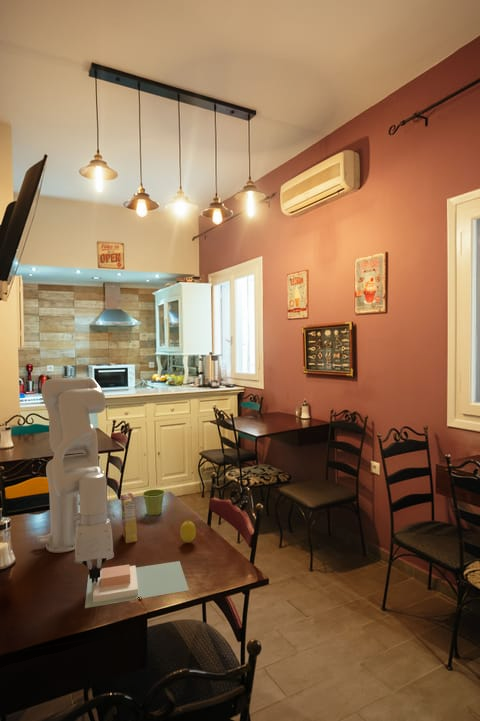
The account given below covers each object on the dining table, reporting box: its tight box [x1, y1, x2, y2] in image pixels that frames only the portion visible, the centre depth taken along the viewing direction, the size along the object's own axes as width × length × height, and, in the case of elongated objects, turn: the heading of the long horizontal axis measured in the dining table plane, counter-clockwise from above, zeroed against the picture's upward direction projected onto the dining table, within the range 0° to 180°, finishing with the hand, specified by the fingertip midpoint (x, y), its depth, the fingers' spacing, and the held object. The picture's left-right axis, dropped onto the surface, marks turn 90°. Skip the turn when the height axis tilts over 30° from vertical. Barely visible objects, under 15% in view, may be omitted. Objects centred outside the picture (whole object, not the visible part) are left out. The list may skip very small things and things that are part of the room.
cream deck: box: [93, 565, 138, 602], centre depth 127 cm, size 12×14×2 cm
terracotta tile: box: [100, 564, 131, 587], centre depth 127 cm, size 8×6×2 cm
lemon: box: [179, 520, 197, 544], centre depth 155 cm, size 6×6×8 cm
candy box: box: [120, 492, 138, 544], centre depth 159 cm, size 9×4×15 cm, turn 23°
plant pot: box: [142, 488, 166, 516], centre depth 184 cm, size 9×9×9 cm
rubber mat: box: [84, 560, 190, 609], centre depth 128 cm, size 28×18×1 cm, turn 106°
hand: (95, 580), depth 125 cm, fingers closed
